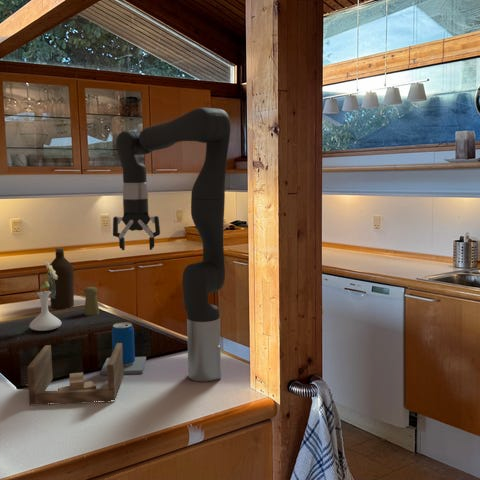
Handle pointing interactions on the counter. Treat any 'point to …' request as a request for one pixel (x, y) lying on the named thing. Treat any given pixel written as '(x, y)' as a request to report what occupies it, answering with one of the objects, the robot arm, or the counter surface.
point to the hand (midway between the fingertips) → (137, 249)
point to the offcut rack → (43, 376)
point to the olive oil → (61, 282)
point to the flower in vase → (45, 308)
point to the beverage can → (124, 341)
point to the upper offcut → (76, 381)
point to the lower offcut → (86, 386)
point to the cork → (91, 301)
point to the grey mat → (134, 368)
